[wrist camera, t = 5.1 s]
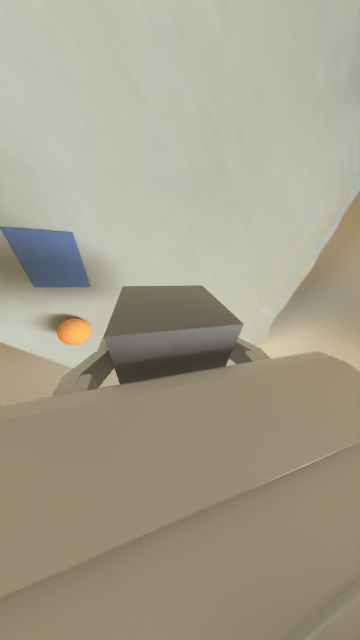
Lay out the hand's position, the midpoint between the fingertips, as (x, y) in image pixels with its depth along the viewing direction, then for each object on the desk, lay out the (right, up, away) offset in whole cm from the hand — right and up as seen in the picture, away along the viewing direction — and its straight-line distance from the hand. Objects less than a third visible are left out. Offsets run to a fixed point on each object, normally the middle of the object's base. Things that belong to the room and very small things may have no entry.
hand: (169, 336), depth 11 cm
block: (-1, +2, +2) cm, 3 cm away
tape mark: (-19, +11, +9) cm, 23 cm away
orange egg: (-19, -1, +13) cm, 23 cm away
